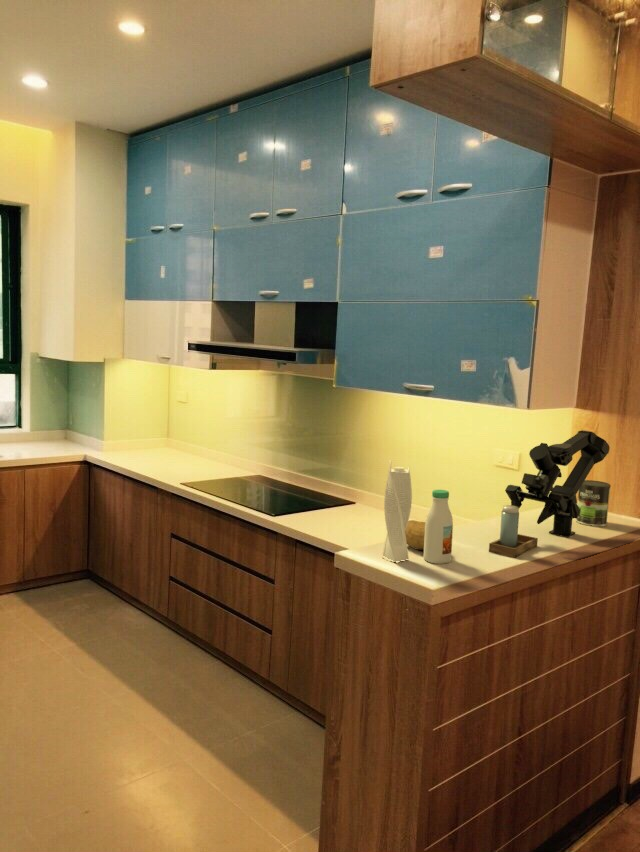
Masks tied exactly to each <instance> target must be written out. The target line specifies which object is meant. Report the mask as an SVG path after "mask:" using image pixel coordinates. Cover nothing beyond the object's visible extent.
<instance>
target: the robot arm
mask: <svg viewBox="0 0 640 852" xmlns="http://www.w3.org/2000/svg"><path fill="white" fill-rule="evenodd" d="M578 452H580V455H581V456H580V457H579V458H578V461H577V462H576V464H575V465H574V466H573V468H572V470H571V472H570V473H569V474H568V477H567V478H566V479H565V481H564V483H562V485H559V484H555V482H556V481H557V479H558V478H562V477H563V476H562V472H561V468H560V466H563V467H566V466H568V465H569V464H570V463H571V462H572V461H573V456H574V455H575V454H576V453H578ZM609 453H610V444H609V443H608V442H607V440H606V439H603V437H600V436H599V435H597V434H596V433H595V432H593V431H590V430H584V429H583V430H579V431H578V432H577V433H576V434H575V435H573V436H572V437H570V438H568V439H567V440H565V441H564V442H562V443H554V444H551V445H548V443H544V442H541V443H540V444H539V445H536V446H534V447H533V448H531V449H530V451H529V454H528V455H529V457H530V459H531V461H532V463H533V465H534V467H535V468H536V469H537V470H538V473H537V475H536V474H532V473H523V476H522V480H521V484H522V485H524V486H525V489H526V490H527V491H524V490H523V489H522V488H521V486H520V485H514V484H508V485H507V486H506V488H505V490H504V491H505V493H506V495H507V496H508V499H509V500H510V505H512V506H517V507H519V509H520V508H521V506H522V505H523V503H522V502H524V500H525V499H526V500H532V501H535V502H541V503H544V507H543V508H542V510H541V512H540V514H539V516H538V518H537V521H536V524H538V525H540V524H542V523H543V522H544V521H547V520H548V519H549V518H551V517H552V516H553V523H552V525H553V527H552V530H549V531H548V534H550V533H551V534H552V535H556V536H560V535H562V537H565V536H566V537H565V538H569V537H571V536H573V535H574V534H576V531H572V529H573V519H576V518H578V517H579V513H580V509H579V507H578V497H577V494H578V493H579V489H580V487H581V485H582V484H583V482H584V480H586V479H587V477H588V475H589V474H590V472H591V470H592V469H593V467H594V465H596V464H598V463H601V462H602V461H603V460H604V459H605V458H606V457H607V456H608V454H609ZM551 534H550V535H551Z"/></svg>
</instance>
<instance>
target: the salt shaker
mask: <svg viewBox="0 0 640 852" xmlns="http://www.w3.org/2000/svg"><path fill="white" fill-rule="evenodd" d="M519 509H520V508H519V507H517V506H512V505H511V504H506V505H505V504H504V505H502V510H501V518H500V532H499V534H500V535H499V539H500V545H502V546H506V547H511V548H515V547H517V538H518V534H519V524H520V523H519V519H520V511H519Z"/></svg>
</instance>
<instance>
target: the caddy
mask: <svg viewBox="0 0 640 852" xmlns="http://www.w3.org/2000/svg"><path fill="white" fill-rule="evenodd" d="M488 545H489V546H488V553H492V554H496V555H500V556H505V557H510V558H514V559H515V558H517V557H519V556H521V555H524V554H525V553H528V552H529V551H531V550H533V549H535V548H538V537H535V536H530V535H529V536H528V535H525V534H521V533H518V538H517V547H515V548H511V547H506V546H502V545H500V538H497V539H496V540H494V541H492V542H490V543H489V544H488Z"/></svg>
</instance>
